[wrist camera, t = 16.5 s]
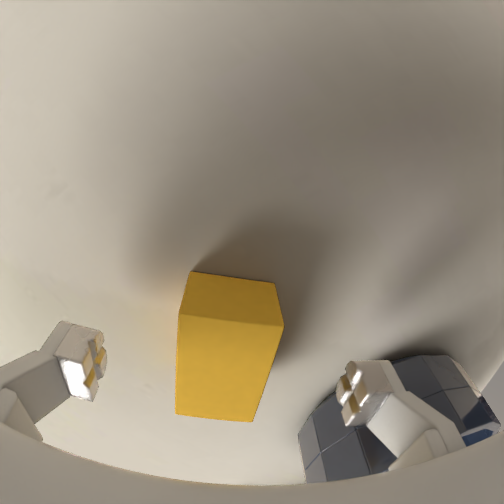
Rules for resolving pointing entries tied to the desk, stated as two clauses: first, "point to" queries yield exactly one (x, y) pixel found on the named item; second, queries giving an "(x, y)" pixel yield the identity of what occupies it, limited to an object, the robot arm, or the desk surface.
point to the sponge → (225, 346)
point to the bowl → (365, 441)
